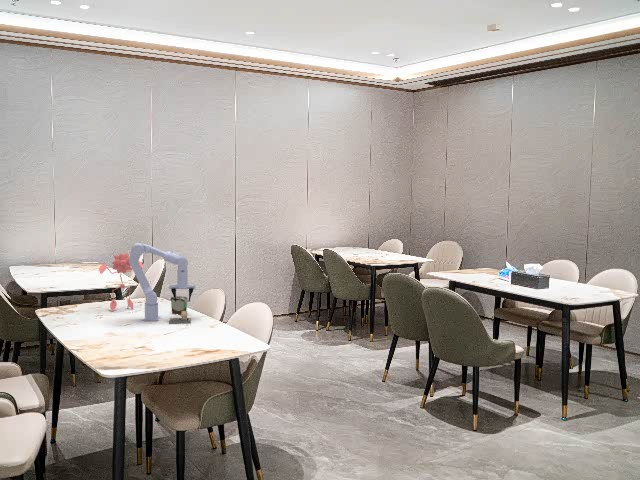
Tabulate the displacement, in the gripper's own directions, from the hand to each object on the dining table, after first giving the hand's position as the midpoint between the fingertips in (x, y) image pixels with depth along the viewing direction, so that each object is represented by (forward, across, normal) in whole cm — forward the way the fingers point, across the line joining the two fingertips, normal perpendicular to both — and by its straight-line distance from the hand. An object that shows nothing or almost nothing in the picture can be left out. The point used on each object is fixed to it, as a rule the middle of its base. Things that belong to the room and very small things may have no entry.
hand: (182, 301), depth 355 cm
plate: (+10, -1, -10) cm, 14 cm away
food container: (+10, -1, +12) cm, 16 cm away
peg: (+10, +2, -10) cm, 14 cm away
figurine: (+10, -36, +24) cm, 44 cm away
